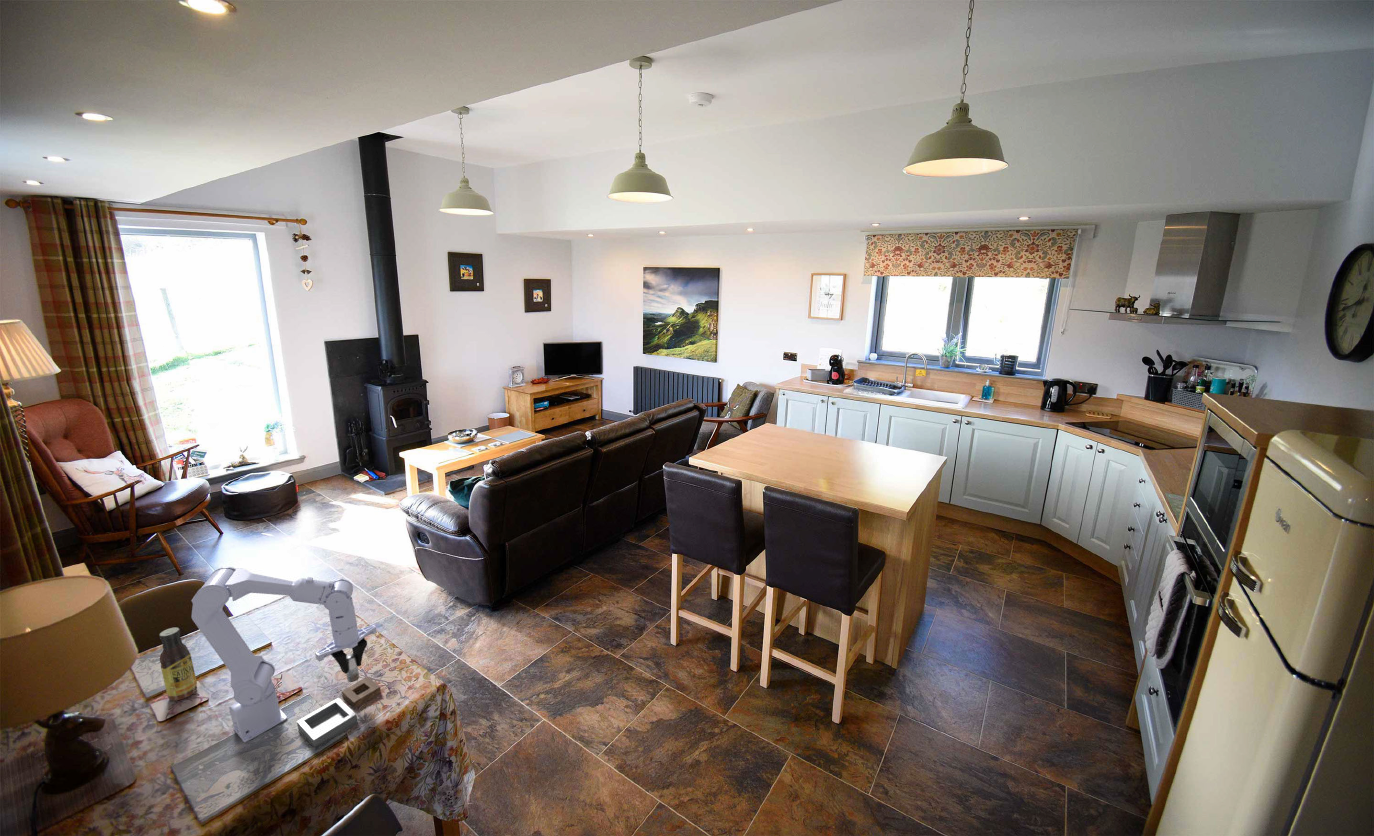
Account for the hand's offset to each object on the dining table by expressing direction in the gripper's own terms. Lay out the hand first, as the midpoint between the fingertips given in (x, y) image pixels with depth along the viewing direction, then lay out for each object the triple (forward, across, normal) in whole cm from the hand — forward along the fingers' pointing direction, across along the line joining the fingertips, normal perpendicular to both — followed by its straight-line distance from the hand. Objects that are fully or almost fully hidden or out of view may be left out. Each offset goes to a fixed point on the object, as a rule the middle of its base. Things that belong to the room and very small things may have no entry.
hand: (351, 668), depth 148 cm
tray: (+10, -9, -4) cm, 14 cm away
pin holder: (+10, +2, +1) cm, 10 cm away
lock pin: (+3, 0, 0) cm, 3 cm away
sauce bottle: (+11, -27, +42) cm, 51 cm away
